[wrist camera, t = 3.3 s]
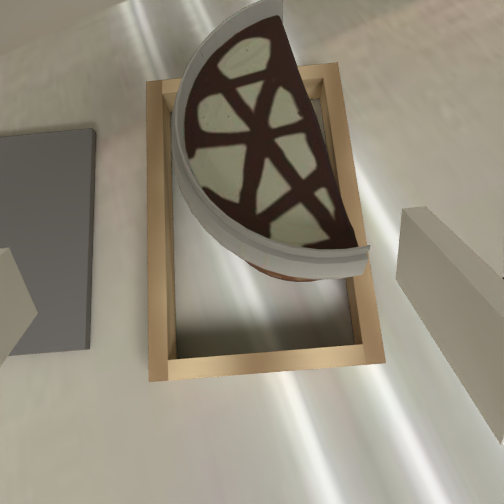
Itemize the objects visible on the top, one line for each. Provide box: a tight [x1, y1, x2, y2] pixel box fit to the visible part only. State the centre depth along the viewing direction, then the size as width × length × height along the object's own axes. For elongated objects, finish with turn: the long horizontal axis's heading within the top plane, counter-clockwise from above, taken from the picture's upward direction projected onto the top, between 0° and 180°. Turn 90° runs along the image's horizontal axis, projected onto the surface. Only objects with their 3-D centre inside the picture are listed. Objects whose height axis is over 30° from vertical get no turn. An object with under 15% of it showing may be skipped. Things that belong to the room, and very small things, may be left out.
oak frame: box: [146, 62, 386, 382], centre depth 24 cm, size 12×18×2 cm, turn 5°
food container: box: [171, 0, 370, 282], centre depth 20 cm, size 12×6×10 cm, turn 14°
